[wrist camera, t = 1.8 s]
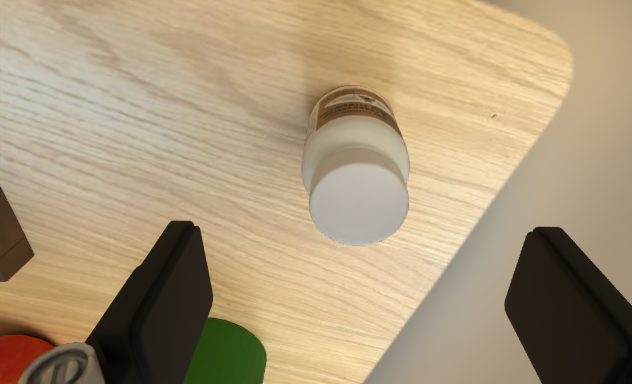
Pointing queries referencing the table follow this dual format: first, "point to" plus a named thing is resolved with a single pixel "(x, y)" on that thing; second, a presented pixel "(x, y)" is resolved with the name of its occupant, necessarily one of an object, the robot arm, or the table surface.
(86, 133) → the table surface
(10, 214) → the holder
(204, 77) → the table surface
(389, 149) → the pill bottle
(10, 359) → the apple
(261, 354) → the candle
